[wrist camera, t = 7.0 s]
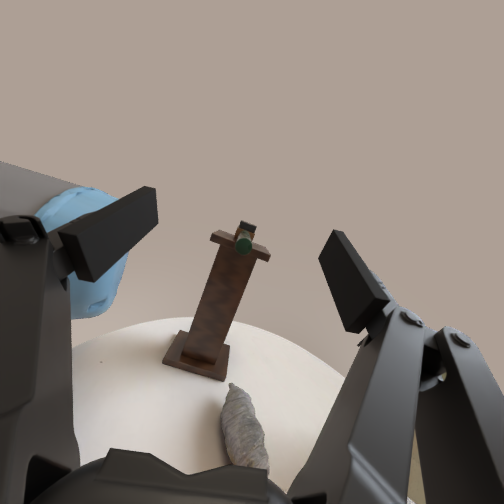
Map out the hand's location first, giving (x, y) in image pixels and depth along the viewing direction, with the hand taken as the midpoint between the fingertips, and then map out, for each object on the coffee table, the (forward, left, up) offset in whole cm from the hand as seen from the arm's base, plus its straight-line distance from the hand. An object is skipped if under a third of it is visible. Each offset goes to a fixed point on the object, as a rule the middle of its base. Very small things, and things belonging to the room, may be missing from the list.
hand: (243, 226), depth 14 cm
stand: (+1, +26, -34) cm, 43 cm away
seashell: (+11, +11, -35) cm, 38 cm away
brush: (+1, +22, -4) cm, 22 cm away
